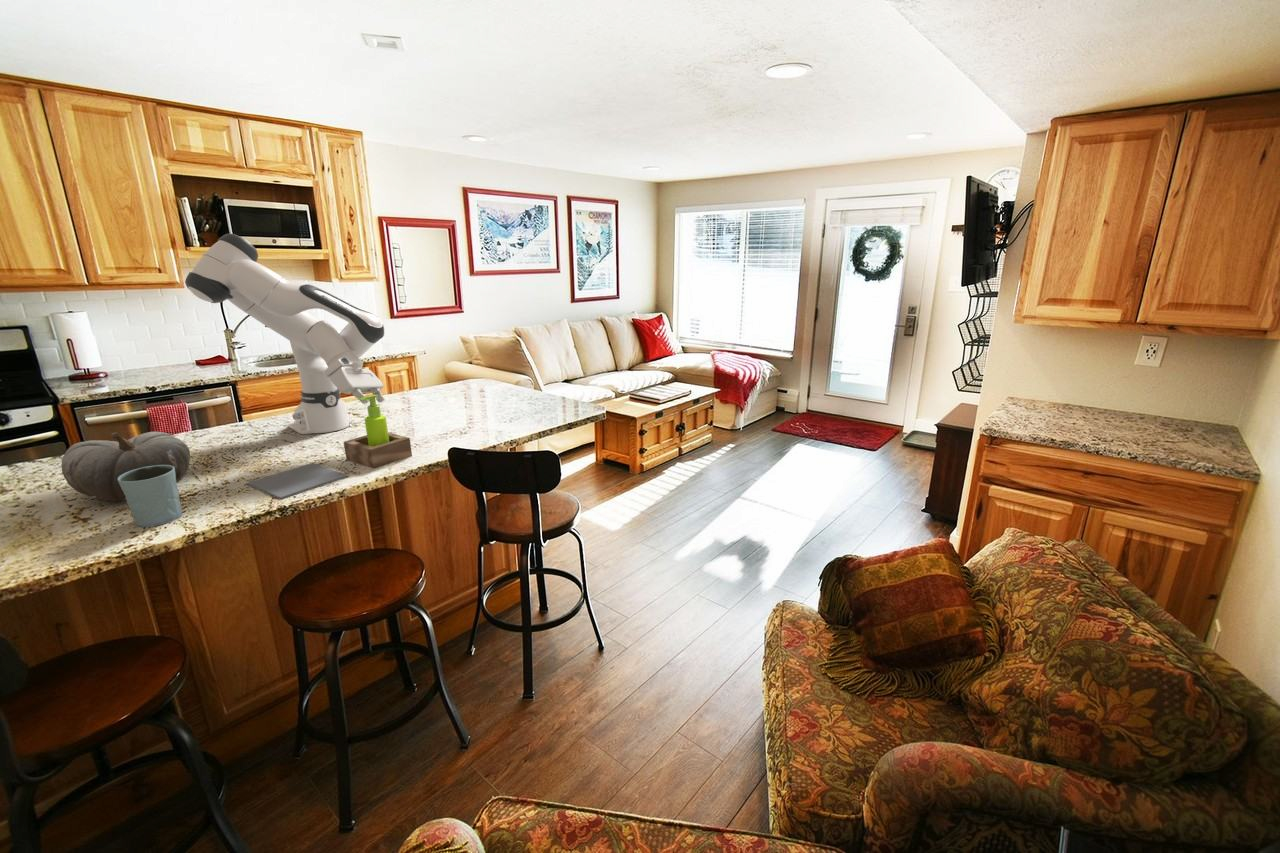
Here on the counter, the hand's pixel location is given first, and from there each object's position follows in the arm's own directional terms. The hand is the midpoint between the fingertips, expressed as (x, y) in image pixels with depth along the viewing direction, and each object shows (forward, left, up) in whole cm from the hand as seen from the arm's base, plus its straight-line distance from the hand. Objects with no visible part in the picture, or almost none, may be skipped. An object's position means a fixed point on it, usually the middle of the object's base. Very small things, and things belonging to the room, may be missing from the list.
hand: (374, 402), depth 173 cm
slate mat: (+3, -28, -16) cm, 32 cm away
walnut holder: (+6, -5, -16) cm, 18 cm away
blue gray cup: (-1, -58, -16) cm, 60 cm away
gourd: (-27, -54, -16) cm, 62 cm away
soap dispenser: (+6, -5, -16) cm, 18 cm away
